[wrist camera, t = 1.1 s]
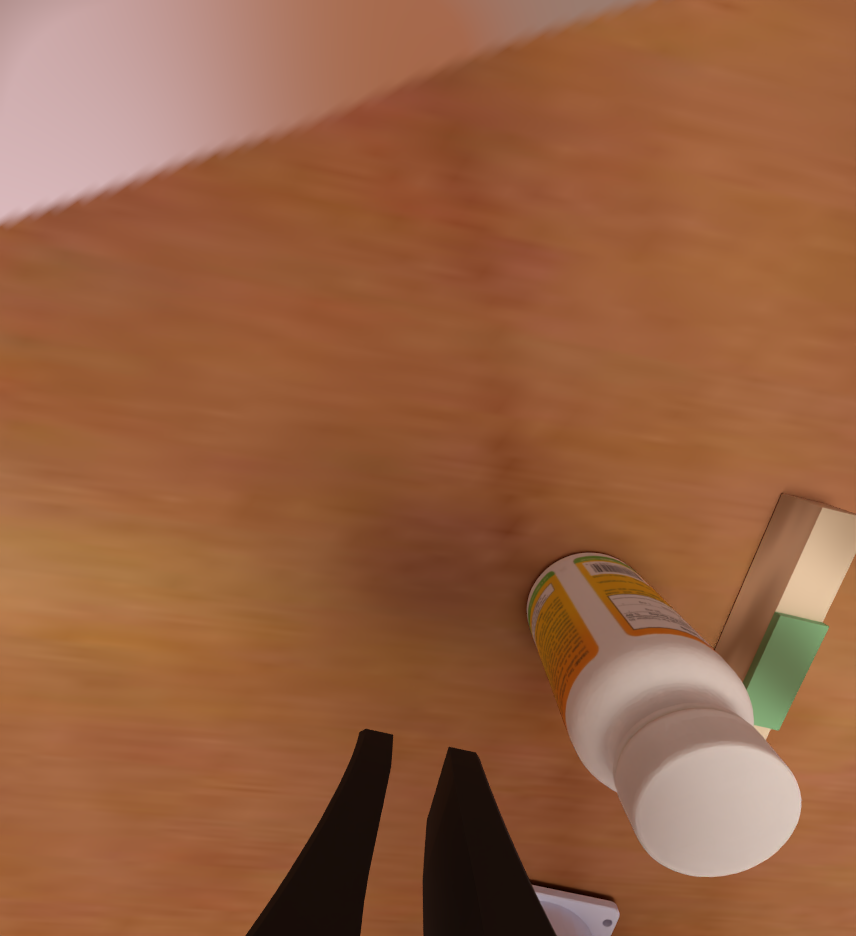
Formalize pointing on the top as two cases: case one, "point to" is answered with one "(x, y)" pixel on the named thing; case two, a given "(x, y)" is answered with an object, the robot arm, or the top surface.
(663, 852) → the supplement bottle
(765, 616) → the stop rail
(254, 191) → the top surface
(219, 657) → the top surface
